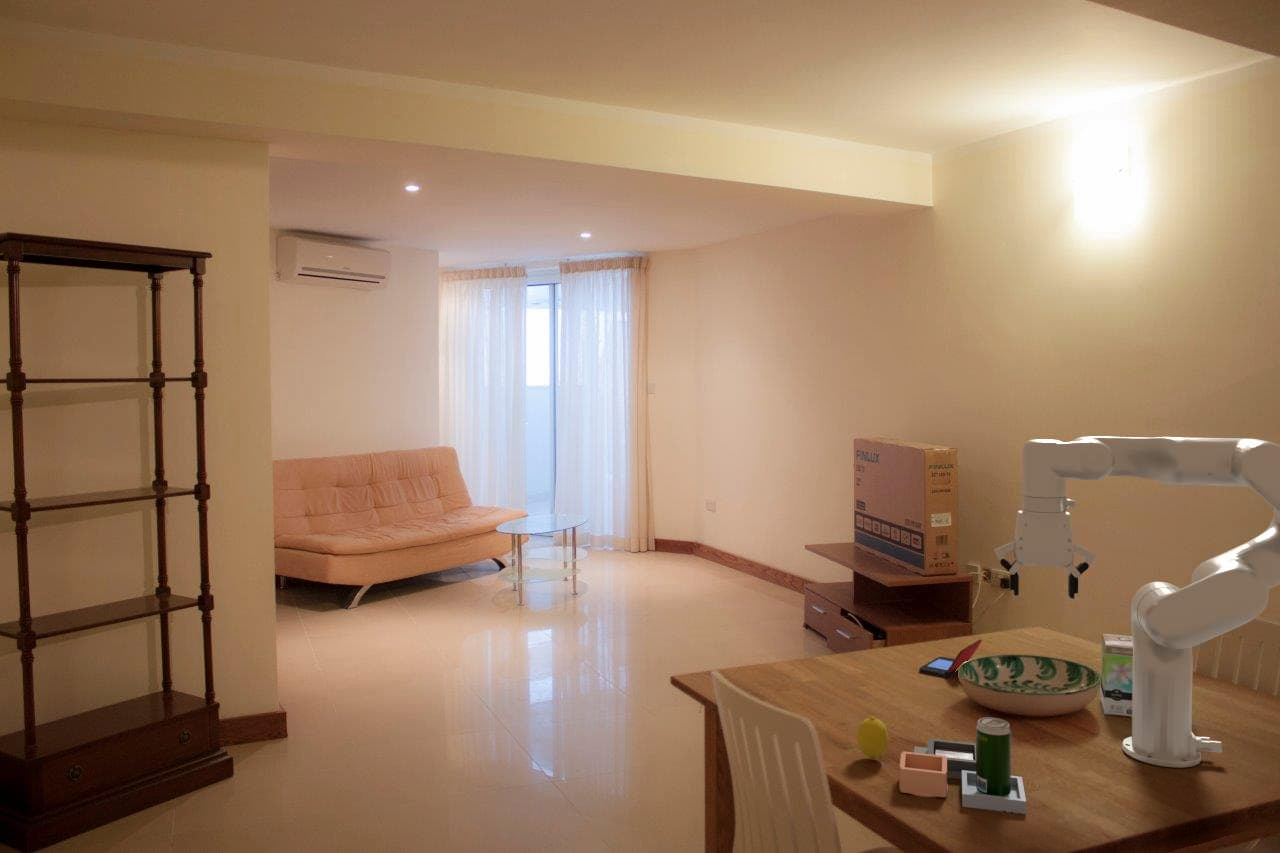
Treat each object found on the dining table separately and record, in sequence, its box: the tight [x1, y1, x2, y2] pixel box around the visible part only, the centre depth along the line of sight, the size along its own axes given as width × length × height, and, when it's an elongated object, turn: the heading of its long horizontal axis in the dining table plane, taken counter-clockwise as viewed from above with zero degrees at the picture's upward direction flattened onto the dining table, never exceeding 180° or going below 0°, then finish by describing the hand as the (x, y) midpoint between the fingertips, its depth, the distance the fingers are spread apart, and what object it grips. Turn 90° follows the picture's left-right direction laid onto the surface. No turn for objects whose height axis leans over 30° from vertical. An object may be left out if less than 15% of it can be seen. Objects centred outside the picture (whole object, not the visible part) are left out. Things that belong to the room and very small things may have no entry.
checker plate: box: [935, 748, 973, 760], centre depth 167 cm, size 6×6×1 cm
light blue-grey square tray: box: [961, 770, 1027, 815], centre depth 155 cm, size 10×10×2 cm
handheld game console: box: [918, 639, 982, 679], centre depth 221 cm, size 12×11×7 cm
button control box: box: [913, 738, 976, 780], centre depth 167 cm, size 14×10×3 cm
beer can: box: [975, 717, 1012, 797], centre depth 154 cm, size 5×5×12 cm
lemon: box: [856, 716, 889, 761], centre depth 170 cm, size 6×6×8 cm
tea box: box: [1099, 633, 1133, 718], centre depth 192 cm, size 15×10×15 cm, turn 68°
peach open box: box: [898, 750, 949, 798], centre depth 159 cm, size 8×8×4 cm
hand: (1043, 595), depth 176 cm, fingers open, 9 cm apart
